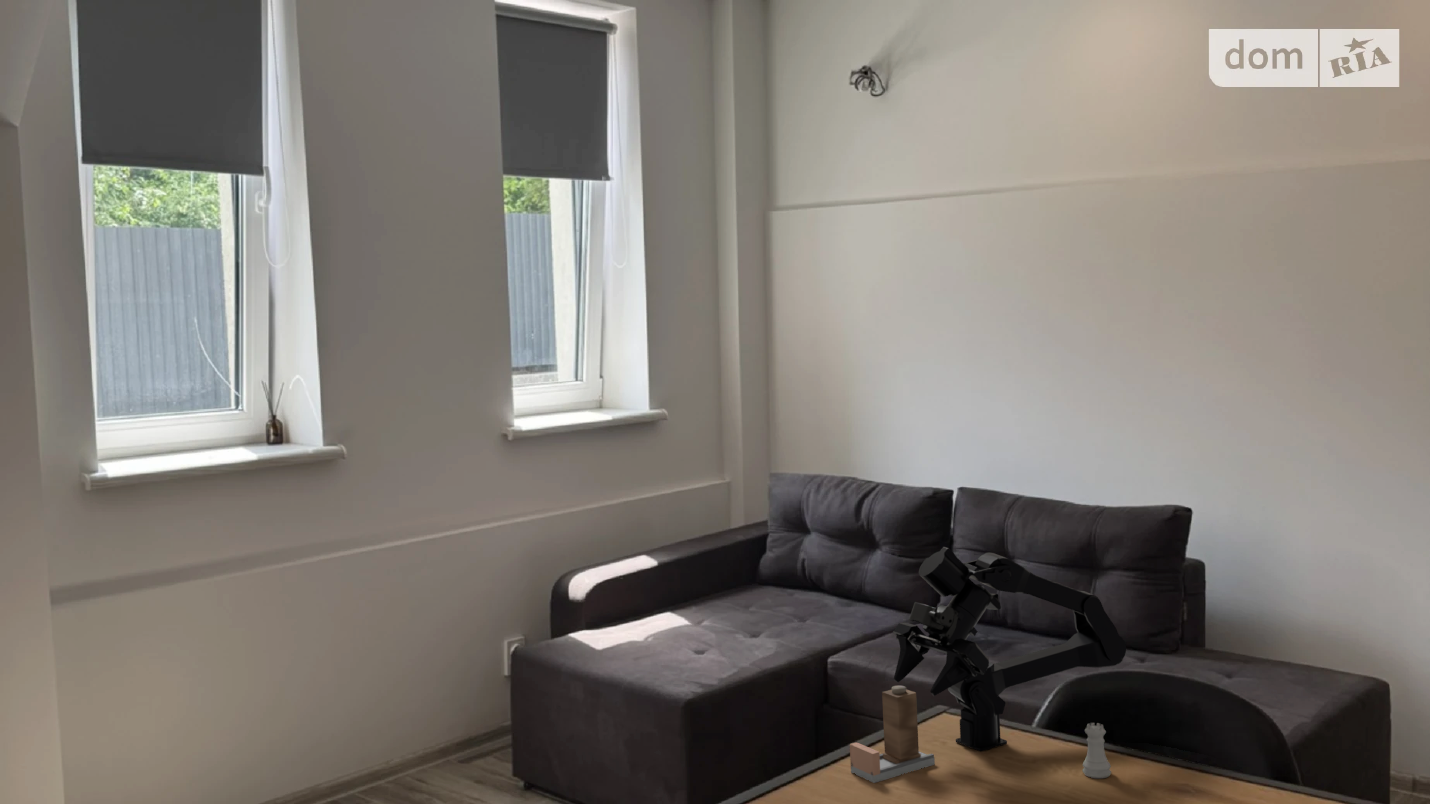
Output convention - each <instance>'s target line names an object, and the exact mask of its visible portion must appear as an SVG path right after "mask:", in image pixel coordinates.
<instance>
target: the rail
mask: <svg viewBox="0 0 1430 804" xmlns="http://www.w3.org/2000/svg"><path fill="white" fill-rule="evenodd" d="M919 753H921V757H918V758H915V759H911V760H908V761H905V762H901V763H898V764H896V763H893V762H891V761H889V760H886V759H884V758H883V753H880V751H878V750H875V749H873V748H871V747H868V746H866V745H864V744H861V743H859V742H852V743H850V744H849V757H850V759H849V760H850V773H851V774H853V773H855V774H856V776H858V777H860V778H862V777H863V778H862V779H864V778H865V780H867V781H868V780H869V782H871V783H873V784H875V783H878V782H882V781H885V780H889V779H892V778H895V777H898V776H902V775H905V774H909V773H912V772H915V771H918V770H921V768H922V769H925V768H928V767H931V766H934V765H935V764H936V762H935V761H936V760H935V754H934V753H929V754H926V753H925V752H924V753H923V752H921V751H919ZM924 767H925V768H924ZM914 770H915V771H914ZM911 771H912V772H911ZM908 772H909V773H908ZM904 773H905V774H904ZM855 774H854V775H855ZM901 774H902V775H901Z"/></svg>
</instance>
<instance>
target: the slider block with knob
mask: <svg viewBox="0 0 1430 804" xmlns="http://www.w3.org/2000/svg"><path fill="white" fill-rule="evenodd" d="M881 699H882V719H883V741H884V743H883V745H884V753H882V754H883V758H884V759H886V760H889V761H891V762H893V763H896V764H898V763H901V762H905V761H908V760H911V759H915V758H918V757H921V753H919V752H920V750H919V748H920V747H919V727H918V726H919V725H918V706H917V705H918V704H917V701H918V700H917V692H915V691H913V690H909V689H907V687H906V686H904V685H893V686H891V689H889V690H885V691H881Z"/></svg>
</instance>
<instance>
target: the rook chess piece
mask: <svg viewBox="0 0 1430 804" xmlns="http://www.w3.org/2000/svg"><path fill="white" fill-rule="evenodd" d="M1084 732H1085V734H1086V735H1087V738H1086V742H1087V751H1086V752H1087V754H1086V757H1085V758H1084V759H1085V760H1084V761H1083V763H1082V767H1083V769H1082V772H1083V774H1084V776H1086V777H1088V778H1090V777H1091V778H1092V779H1097V780H1099V779H1105V778H1108V777H1110V775H1111V774H1112V770H1111V764H1110V762H1109V761H1108V758H1107V755H1106V753H1105V752H1106V751H1105V747H1104V743H1105V742H1106V740H1105V739H1104V736H1105V734H1106V733H1107V731H1106V730H1105V728H1104V724H1101V723H1099V722H1097V723H1096V725H1095V722H1090V723H1087V725H1086V727H1085V729H1084Z"/></svg>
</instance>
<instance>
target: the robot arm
mask: <svg viewBox="0 0 1430 804" xmlns="http://www.w3.org/2000/svg"><path fill="white" fill-rule="evenodd" d="M918 575H919V576H920V577H921V578H922V579H923V580H924V581H926V583H927V584H928V585H930V587H931V588H933V590H934V591H936V593H938V594H939V595H940V597H945V598H946V597H948V596H949V597H952V598H951V600H950V601H949V603H948V604H947V605H945V604H939V606H938V607H933V606H930V605H928V604H925V603H920V602H917V601H915V602H914V603H913V606H912V609H911V612H910V615H909V618H908V621H911V622H916V623H919V624H920V625H923V626H922V629H921V628H919V626H918V625H916V624H913V623H908V622H905V621H904V622H898V624H897V625H896V627H895V628H894V630H892V631H893V632H892V633H893V634H894V635H895V639H896V641H897V642H898V644H899V656H898V660H897V663H896V664H897V665H896V667H895V673H894V675H893V680H894V682H896V683H900V682H901V681H902V680H904V679H905V678H906V677H907V676H908V675H909V674H910V673H911V672H912V671H914V669H915V668H916V667H917V666H918V665H919V664H921V663H922V661H923V660H925V656H924V655H925V654H927V653H928V652H929V651H930V650H933V651H935V652H939V653H942V654H945V655H946V657H945V658H946V659H945V664H944V666H943V667H942V669H941V671H940V672H939V674H938V676H937V677H936V679H935V681H934V683H933V684H932V686H931V689H930V694H931V695H932V696H933V697H935V696H937V695H939V694H941V693H942V692H944V691H946V690H948V692H949V693H950V694H951V695H953V696H954V697H955V700H956V702H957V704H959V705H961V706H962V708H961V709H960V719H959V738H956V739H955V742H956V743H957V744H959V745H962V746H965V747H968V748H970V749H973V750H974V751H975V750H976V751H978V752H984V751H987V750H992V749H994V748H997V747H1000V746H1004V745H1007V744H1008V740H1006V739H1004V738H1001V723H1000V722H1001V721H1000V720H1001V719H1000V718H1001V717H1000V715H1002V714H1003V713H1004V710H1005V707H1006V701H1005V700H1004V699H1003V698H1002V697H1000V695H1001V694H1002V693H1003V692H1004V691H1006V690H1007V689H1010V688H1012V687H1016V686H1019V685H1023V684H1026V683H1028V682H1032V681H1036V680H1039V679H1043V678H1047V677H1049V676H1053V675H1056V674H1060V673H1063V672H1066V671H1069V670H1070V671H1071V670H1073V669H1076V668H1095V669H1097V668H1098V669H1099V668H1108V667H1109V668H1110V667H1116V666H1118V665H1119V664H1121V663H1123V660H1124V658H1125V656H1126V653H1127V644H1126V641H1125V639H1124V638H1123V637H1122V636H1120V634H1119V632H1118V630H1117V627H1116V625H1115V624H1114V623H1113V621H1112V620H1111V618H1110V617H1109V615H1108V614H1107V612H1106V611H1105V609H1104V607H1103V603H1102V601H1101V600H1100V598H1099V597H1098V596H1096V595H1095V594H1092V593H1089V592H1087V591H1084V590H1078V589H1075V588H1072V587H1069V586H1067V585H1063V584H1061V583H1059V582H1055V581H1052V580H1050V579H1047V578H1045V577H1041V576H1039V575H1036V574H1035V573H1032V572H1031V571H1030V570H1028V569H1027V568H1025V567H1024V566H1022V565H1020V564H1018V563H1017V562H1015V561H1014V560H1012V559H1010V558H1008V557H1005V556H1002V555H999V554H996V553H994V552H985V553H983V554H982V555H981V556H979V557H978V558H977V559H975V560H971V561H965V562H962V560H960V559H959V558H958V557H957V556H956V554H955V553H954V551H952V550H951V549H950V548H949V547H946V546H942V548H941V549H940V550H939V551H936V552H934V553H933V554H932V555H930V556H928V557H926V558H925V559H924V560H923V562H922V563H921V565H920V567H919V570H918ZM971 579H972V580H975V581H977V582H979V584H976V583H975V582H973V581H972V580H971ZM982 584H983V585H982ZM984 585H985V586H987V587H990V588H992V589H994V590H996V591H1000V592H1006V593H1011V594H1012V593H1013V594H1022V595H1023V594H1026V595H1029V596H1033V597H1036V598H1038V599H1041V600H1044V601H1046V602H1049V603H1051V604H1052V603H1053V604H1055V605H1058V606H1061V607H1063V608H1066V609H1069V610H1072V613H1073V618H1074V619H1073V621H1074V627H1075V630H1076V633H1074V634H1073V635H1072V636H1071V637H1070V638H1069V639H1068V640H1067V641H1066V642H1064V643H1062V644H1057V645H1054V646H1050V647H1047V648H1043V649H1040V650H1037V651H1034V652H1033V651H1032V652H1031V653H1027V654H1024V655H1020V656H1016V657H1014V658H1009V659H1006V660H1003V661H1000V662H999V661H998V662H996V663H993V662H991V661H990V658H989V657H988V655H986V653H985V652H984V650H982V649H981V647H980V646H979V644H977V642H975V641H972V640H967V639H968V637H969V636H973V637H975V636H976V634H978V629H976V628H975V626H976V625H977V624H978V622H979V620H980V619H981V618H982V616H983V615H984V613H985V612H986V610H996V611H997V610H999V611H1000V610H1001V609H1002V605H1001V602H1000V600H999V594H998V593H991V592H990V591H989V590H987V589H986V587H984ZM923 631H924V632H926V633H928V635H926V634H925V633H924V632H923Z"/></svg>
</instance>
